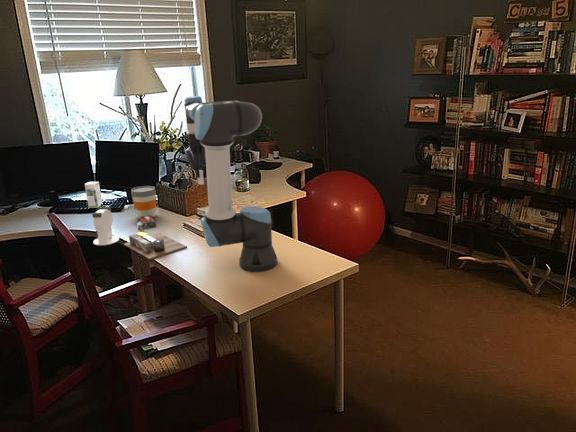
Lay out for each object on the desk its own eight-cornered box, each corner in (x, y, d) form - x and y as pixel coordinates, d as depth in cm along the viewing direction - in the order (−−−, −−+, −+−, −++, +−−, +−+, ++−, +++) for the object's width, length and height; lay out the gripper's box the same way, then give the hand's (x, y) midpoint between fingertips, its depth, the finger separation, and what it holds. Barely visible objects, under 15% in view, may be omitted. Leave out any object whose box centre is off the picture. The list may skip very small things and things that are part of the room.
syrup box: (88, 208, 274) (84, 183, 269) (93, 205, 279) (89, 181, 274) (97, 209, 273) (93, 184, 268) (103, 205, 278) (99, 181, 274)
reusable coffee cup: (148, 211, 266) (145, 184, 261) (163, 214, 259) (160, 187, 254) (129, 217, 256) (125, 190, 252) (144, 221, 249) (141, 193, 244)
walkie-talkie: (134, 222, 249) (140, 234, 232) (133, 214, 248) (139, 226, 231) (152, 219, 253) (159, 231, 235) (151, 211, 251) (158, 223, 234)
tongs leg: (166, 249, 210) (165, 240, 208) (157, 252, 207) (156, 243, 205) (144, 238, 224) (143, 229, 222) (135, 240, 221) (134, 232, 220)
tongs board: (187, 248, 213) (186, 238, 212) (149, 260, 202) (148, 250, 200) (160, 234, 230) (159, 226, 229) (124, 245, 219) (122, 236, 217)
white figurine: (100, 235, 231) (95, 205, 227) (123, 235, 230) (119, 205, 226) (88, 245, 220) (83, 214, 215) (112, 245, 219) (107, 213, 214)
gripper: (203, 129, 221) (208, 180, 229) (178, 133, 213) (184, 185, 220) (213, 131, 216) (217, 182, 223) (188, 135, 207) (193, 188, 215)
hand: (200, 184), depth 222 cm, fingers closed
